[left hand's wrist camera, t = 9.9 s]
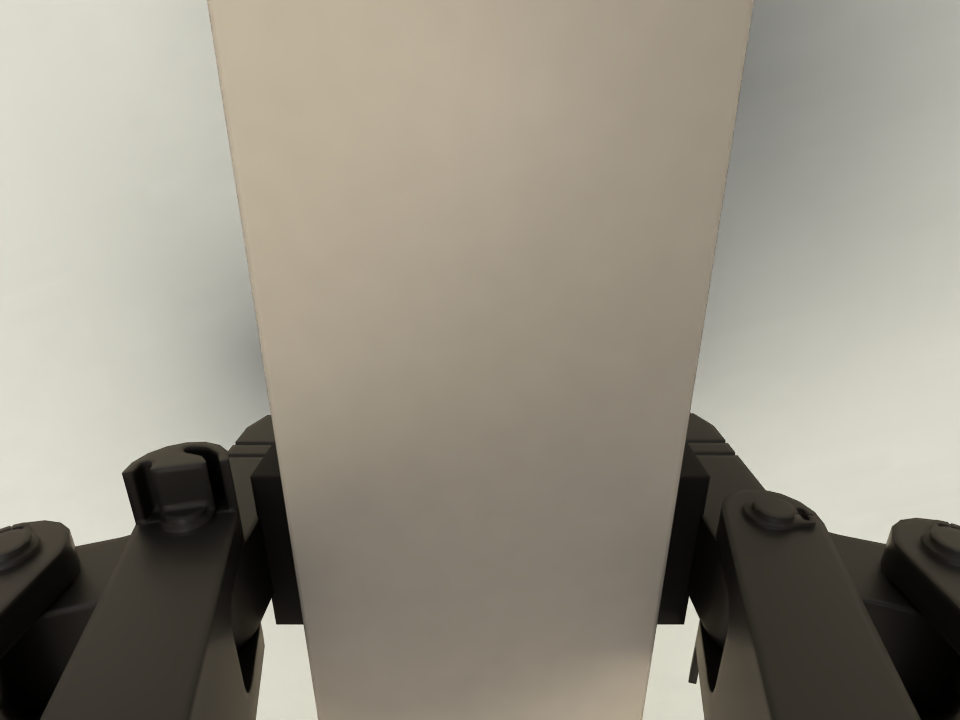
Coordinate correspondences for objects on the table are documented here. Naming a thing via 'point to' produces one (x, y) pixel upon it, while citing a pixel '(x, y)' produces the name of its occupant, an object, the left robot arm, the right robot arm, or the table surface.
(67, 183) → the table surface
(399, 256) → the beam
